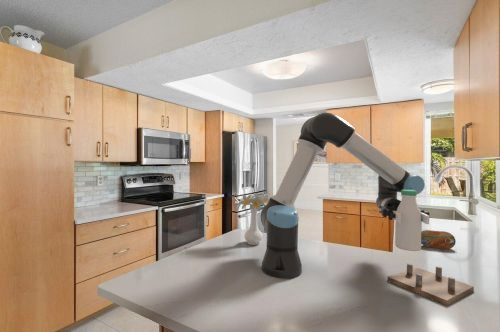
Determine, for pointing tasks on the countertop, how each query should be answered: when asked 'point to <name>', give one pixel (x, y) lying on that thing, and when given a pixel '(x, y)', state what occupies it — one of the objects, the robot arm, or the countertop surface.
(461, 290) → the peg board
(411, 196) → the milk bottle
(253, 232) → the flower vase
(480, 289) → the countertop surface
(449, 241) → the tin
